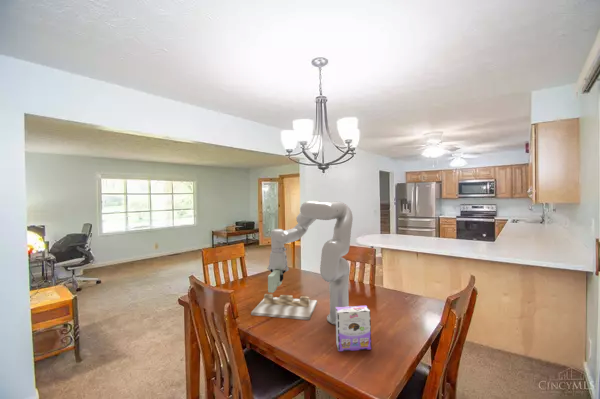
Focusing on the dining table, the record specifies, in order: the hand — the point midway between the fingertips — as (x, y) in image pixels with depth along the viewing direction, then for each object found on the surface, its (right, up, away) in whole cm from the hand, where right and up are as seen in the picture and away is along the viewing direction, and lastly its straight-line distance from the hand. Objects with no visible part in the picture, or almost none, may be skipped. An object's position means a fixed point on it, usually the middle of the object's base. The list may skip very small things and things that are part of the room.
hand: (278, 280), depth 163 cm
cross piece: (-1, -2, -5) cm, 6 cm away
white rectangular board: (+5, -13, -8) cm, 17 cm away
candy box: (+35, -14, -48) cm, 61 cm away
